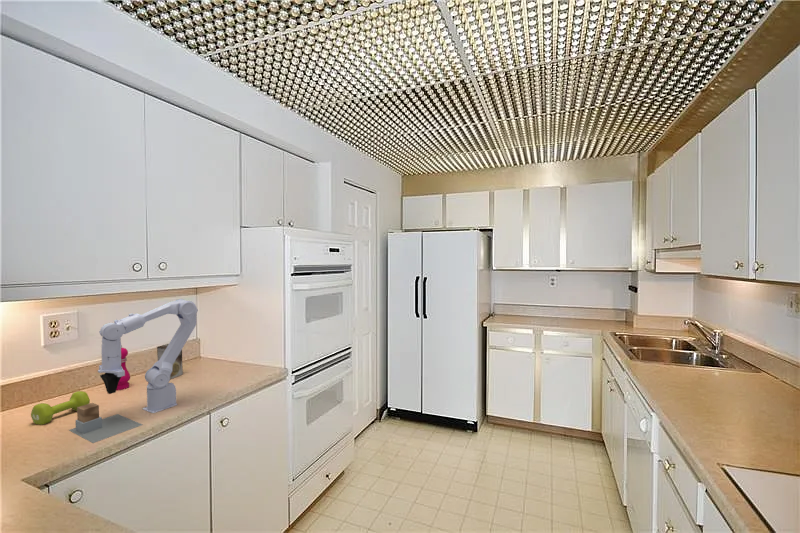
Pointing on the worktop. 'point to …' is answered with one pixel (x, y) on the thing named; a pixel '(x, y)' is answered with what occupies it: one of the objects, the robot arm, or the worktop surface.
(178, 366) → the coffee box
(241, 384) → the worktop surface
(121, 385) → the pepper mill
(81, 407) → the walnut block
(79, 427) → the base block
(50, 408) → the dumbbell
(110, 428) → the mat
